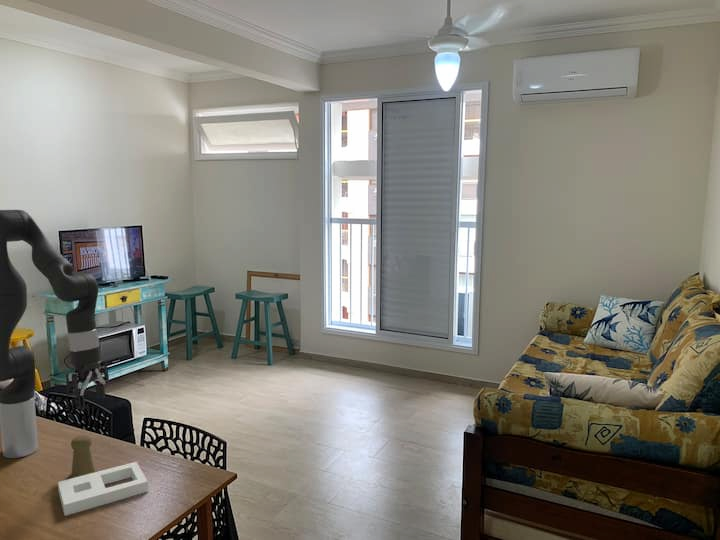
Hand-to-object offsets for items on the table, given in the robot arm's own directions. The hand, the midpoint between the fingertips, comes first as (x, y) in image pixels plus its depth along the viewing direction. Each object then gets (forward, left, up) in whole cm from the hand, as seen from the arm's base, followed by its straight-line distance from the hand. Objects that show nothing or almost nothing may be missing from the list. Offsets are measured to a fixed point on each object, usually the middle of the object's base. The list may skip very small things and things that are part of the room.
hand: (91, 403), depth 148 cm
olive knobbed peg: (-5, -2, -22) cm, 23 cm away
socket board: (+9, +1, -22) cm, 24 cm away
